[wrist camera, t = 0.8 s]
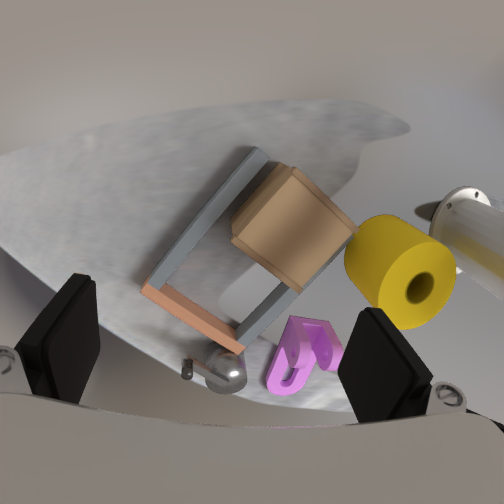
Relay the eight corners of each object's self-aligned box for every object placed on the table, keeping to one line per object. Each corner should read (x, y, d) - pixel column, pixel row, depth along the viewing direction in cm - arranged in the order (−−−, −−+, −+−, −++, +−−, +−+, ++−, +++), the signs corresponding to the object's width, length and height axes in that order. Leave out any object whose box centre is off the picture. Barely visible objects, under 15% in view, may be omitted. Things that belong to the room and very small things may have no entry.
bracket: (289, 315, 40) (302, 349, 34) (328, 321, 41) (346, 353, 35) (260, 387, 44) (267, 423, 38) (296, 390, 45) (306, 424, 39)
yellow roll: (397, 292, 41) (433, 330, 32) (333, 284, 39) (363, 327, 30) (422, 223, 37) (468, 250, 29) (358, 206, 35) (399, 233, 27)
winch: (251, 351, 41) (258, 393, 34) (227, 373, 42) (230, 415, 35) (198, 318, 39) (196, 360, 31) (175, 343, 40) (169, 385, 32)
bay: (345, 229, 36) (354, 236, 34) (236, 342, 40) (238, 354, 38) (255, 146, 32) (258, 148, 29) (144, 281, 36) (140, 292, 34)
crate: (333, 209, 35) (360, 229, 29) (283, 263, 37) (298, 294, 31) (279, 159, 33) (296, 167, 26) (227, 218, 34) (230, 241, 28)
